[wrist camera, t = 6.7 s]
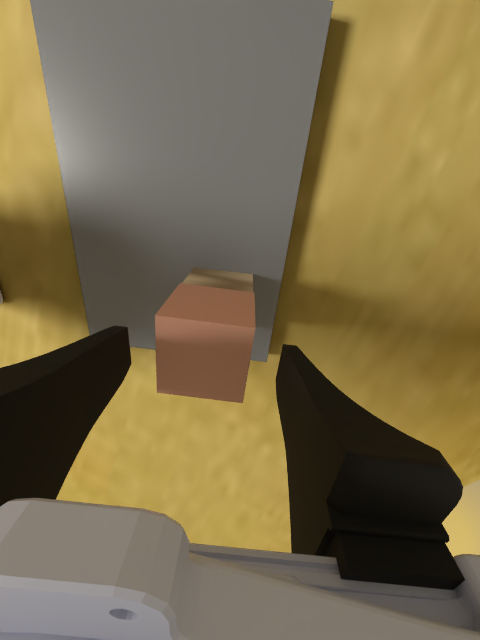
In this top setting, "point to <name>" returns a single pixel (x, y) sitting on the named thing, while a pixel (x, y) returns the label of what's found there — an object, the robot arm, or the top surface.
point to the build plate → (179, 143)
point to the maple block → (220, 279)
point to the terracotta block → (205, 342)
